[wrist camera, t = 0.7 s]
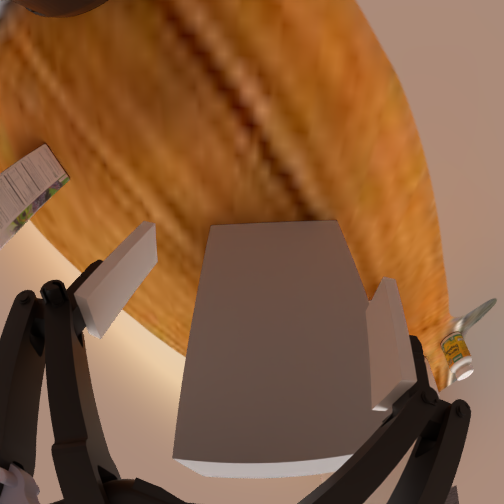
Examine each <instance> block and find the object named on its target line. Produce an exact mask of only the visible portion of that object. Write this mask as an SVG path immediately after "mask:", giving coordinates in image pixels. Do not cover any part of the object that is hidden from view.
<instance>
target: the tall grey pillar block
mask: <svg viewBox="0 0 504 504" xmlns="http://www.w3.org/2000/svg"><path fill="white" fill-rule="evenodd" d="M368 306H369V301H368V298H367V295H366V293H365V290H364V287H363V284H362V282H361V279H360V276H359V274H358V271H357V268H356V266H355V263H354V261H353V258H352V256H351V253H350V251H349V248H348V246H347V243H346V241H345V238H344V236H343V234H342V231H341V229H340V226H339V224H338V222H337V220H327V221H295V222H269V223H247V224H227V225H211V227H210V232H209V237H208V241H207V246H206V251H205V256H204V261H203V266H202V271H201V276H200V281H199V286H198V291H197V297H196V302H195V308H194V313H193V319H192V324H191V330H190V336H189V342H188V348H187V354H186V361H185V367H184V373H183V381H182V387H181V394H180V401H179V408H178V416H177V423H176V432H175V440H174V448H173V459H174V460H176V461H178V462H179V463H181V464H183V465H184V466H186V467H188V468H190V469H191V470H193V471H195V472H197V473H199V474H201V475H202V476H209V477H225V478H278V477H294V476H305V475H314V474H323V473H330V472H336V471H337V470H338V469H339V468H340V467H341V466H342V465H343V464H344V463H345V462H346V461H347V460H348V459H349V458H350V457H351V456H352V455H353V454H354V453H355V452H356V451H357V450H358V449H359V448H360V447H361V446H362V445H363V444H364V443H365V442H366V441H367V440H368V439H369V438H370V437H371V436H372V435H373V433H374V432H375V431H376V430H377V429H378V428H379V427H380V426H381V424H382V423H383V422H382V421H383V420H384V419H385V418H387V417H388V416H389V415H390V414H391V413H392V406H391V407H390V408H389V409H388V410H386V411H378V410H372V400H371V374H370V357H369V344H368V332H367V322H366V312H365V311H366V310H367V308H368Z"/></svg>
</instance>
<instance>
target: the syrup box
mask: <svg viewBox="0 0 504 504" xmlns="http://www.w3.org/2000/svg"><path fill="white" fill-rule="evenodd" d="M69 180H70V179H69V177H68V175H67V174H66V172H65V171H64V169H63V168H62V167H61V165H60V164H59V162H58V161H57V159H56V158H55V156H54V155H53V154H52V152H51V151H50V149H49V148H48V146H47V145H46V144H43V145H42V146H40V147H39V148H37V149H35V150H34V151H32V152H31V153H29V154H28V155H26V156H25V157H23V158H22V159H20V160H19V161H17V162H16V163H14V164H13V165H12V166H10V167H9V168H7V169H6V170H5V171H3V172H2V173H1V174H0V250H1V249H2V248H3V246H4V245H5V244H6V243H7V242H8V241H9V240H10V239H11V238H12V237H13V236H14V235H15V234H16V233H17V232H18V230H20V228H21V227H22V226H23V225H24V224H25V223H26V222H27V221H28V220H29V219H30V218H31V217H32V216H33V215H34V214H35V213H36V212H37V211H38V210H39V209H40V208H41V207H42V206H43V205H44V204H45V203H46V202H47V201H48V200H49V199H50V198H51V197H52V196H53V195H54V194H55V193H56V192H57V191H58V190H59V189H60V188H61V187H62V186H63V185H65V184H66V183H67V182H68V181H69Z"/></svg>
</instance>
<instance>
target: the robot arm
mask: <svg viewBox="0 0 504 504" xmlns="http://www.w3.org/2000/svg"><path fill="white" fill-rule="evenodd" d="M11 1H13V2H16V3H18V4H20V5H22V6H24V7H25V8H26V9H28V10H29V11H30V12H32V13H34V14H36V15H39V16H43V17H71V16H75V15H79V14H82V13H85V12H87V11H90V10H92V9H94V8H96V7H98V6H100V5H101V4H103V3H105V2H106V1H108V0H11ZM157 262H158V261H157V247H156V230H155V223H150V222H146V221H143V222H142V223H141V224H140V225H139V226H138V227H137V228H136V229H135V230H134V231H133V232H132V233H131V234H130V235H129V236H128V237H127V238H126V239H125V240H124V241H123V242H122V243H121V244H120V245H119V246H118V247H117V248H116V249H115V250H114V251H113V252H112V253H111V254H110V255H109V256H108V257H107V258H106V259H105V260H104V261H102V260H97V261H96V262H94V263H92V264H90V265H89V266H88V268H87V269H86V270H85V272H83V273H82V274H81V275H80V276H79V277H78V278H77V279H76V280H75V281H74V282H73V283H72V285H71V286H70V287H69V288H68V289H67V290H66V288H65V286H64V283H62V282H61V281H60V280H51V281H48V282H47V283H45V284H44V285H43V286H42V288H41V290H40V293H41V296H42V298H43V299H39V298H36V295H35V293H34V292H33V291H32V290H25V291H22V292H21V293H19V294H18V295H17V296H16V298H15V300H14V303H13V305H12V307H11V310H10V313H9V315H8V318H7V321H6V324H5V326H4V329H3V332H2V335H1V338H0V504H40V503H39V501H38V498H37V495H38V494H39V492H40V491H39V487H38V485H36V483H35V480H34V479H33V474H34V469H35V458H36V435H37V421H38V411H39V401H40V394H41V387H42V380H43V374H44V368H45V363H46V377H47V378H46V379H47V389H48V399H49V407H50V414H51V421H52V427H53V432H54V438H55V443H54V444H53V445H52V449H51V450H52V457H53V461H54V465H55V470H56V473H57V477H58V481H59V484H60V488H61V491H62V494H63V498H64V499H63V500H60V501H57V502H54V503H50V504H194V503H186V502H184V501H182V500H180V499H179V498H177V497H175V496H174V495H172V494H171V493H169V492H167V491H166V490H164V489H163V488H161V487H158V486H156V485H153V484H151V483H148V482H146V481H143V480H141V479H139V478H136V479H135V480H133V479H121V478H120V475H119V472H118V470H117V468H116V465H115V464H114V462H113V460H112V458H111V456H110V454H109V451H108V448H107V444H106V441H105V438H104V434H103V431H102V427H101V423H100V419H99V415H98V412H97V407H96V403H95V398H94V394H93V389H92V384H91V379H90V374H89V368H88V362H87V355H86V349H85V341H84V334H83V332H82V331H83V330H84V328H85V327H87V330H88V332H89V334H91V335H93V336H95V337H98V338H100V339H101V338H102V337H103V335H104V334H105V332H106V331H107V330H108V328H109V327H110V325H111V323H112V322H113V321H114V320H115V318H116V317H117V315H118V314H119V313H120V311H121V310H122V308H123V307H124V306H125V304H126V303H127V302H128V300H129V299H130V297H131V296H132V295H133V293H134V292H135V291H136V289H137V288H138V287H139V285H140V284H141V283H142V281H143V280H144V279H145V277H146V276H147V275H148V273H149V272H150V271H151V270H152V268H153V267H154V266H155V264H156V263H157ZM365 312H366V322H367V332H368V344H369V357H370V374H371V400H372V410H378V411H386V410H388V409H389V408H390V407H391V406H392V413H391V414H390V415H389V416H388V417H387V418H385V419H384V420H383V421H382V422H383V423H382V424H381V426H380V427H379V428H378V429H377V430H376V431H375V432H374V433H373V435H372V436H371V437H370V438H369V439H368V440H367V441H366V442H365V443H364V444H363V445H362V446H361V447H360V448H359V449H358V450H357V451H356V452H355V453H354V454H353V455H352V456H351V457H350V458H349V459H348V460H347V461H346V462H345V463H344V464H343V465H342V466H341V467H340V468H339V469H338V470H337V471H336V472H335V473H333V474H332V475H331V476H330V477H329V478H328V479H327V480H326V481H324V482H323V483H322V484H321V485H320V486H319V487H317V488H316V489H315V490H314V491H313V492H311V493H310V494H309V495H308V496H306V497H305V498H304V499H302V500H301V501H300V502H299V503H297V504H363V503H364V502H365V501H366V500H367V499H368V498H369V497H370V496H371V495H372V494H373V493H374V491H375V490H376V489H377V488H378V487H379V486H380V485H381V484H382V483H383V481H384V480H385V479H386V478H387V477H388V476H389V474H390V473H391V472H392V471H393V469H394V468H395V467H396V466H397V465H398V463H399V462H400V461H401V459H402V458H403V457H404V455H405V454H406V453H407V451H408V450H409V449H410V447H411V446H412V445H413V443H414V442H415V440H416V439H417V440H416V443H415V445H414V448H413V450H412V452H411V455H410V457H409V459H408V462H407V464H406V466H405V468H404V470H403V472H402V475H401V477H400V479H399V481H398V483H397V485H396V487H395V489H394V491H393V492H392V494H391V496H390V498H389V500H388V502H387V503H386V504H445V501H446V499H447V496H448V494H449V491H450V489H451V486H452V483H453V480H454V477H455V474H456V471H457V468H458V465H459V462H460V458H461V454H462V451H463V448H464V444H465V440H466V436H467V432H468V427H469V422H470V418H471V410H470V407H469V405H468V404H467V403H466V402H465V401H464V400H461V399H458V400H456V401H454V402H453V403H452V404H450V403H448V402H446V401H443V400H440V399H439V396H438V394H437V392H436V391H435V390H434V389H433V388H432V387H430V385H429V379H428V374H427V368H426V363H425V362H424V361H425V358H424V355H423V349H422V345H421V343H420V341H419V340H418V338H417V336H412V335H409V334H408V329H407V324H406V320H405V316H404V311H403V307H402V303H401V299H400V295H399V292H398V288H397V284H396V281H395V279H391V278H387V277H383V278H382V280H381V282H380V285H379V286H378V288H377V290H376V292H375V294H374V296H373V298H372V300H371V302H370V304H369V306H368V308H367V310H366V311H365Z"/></svg>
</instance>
